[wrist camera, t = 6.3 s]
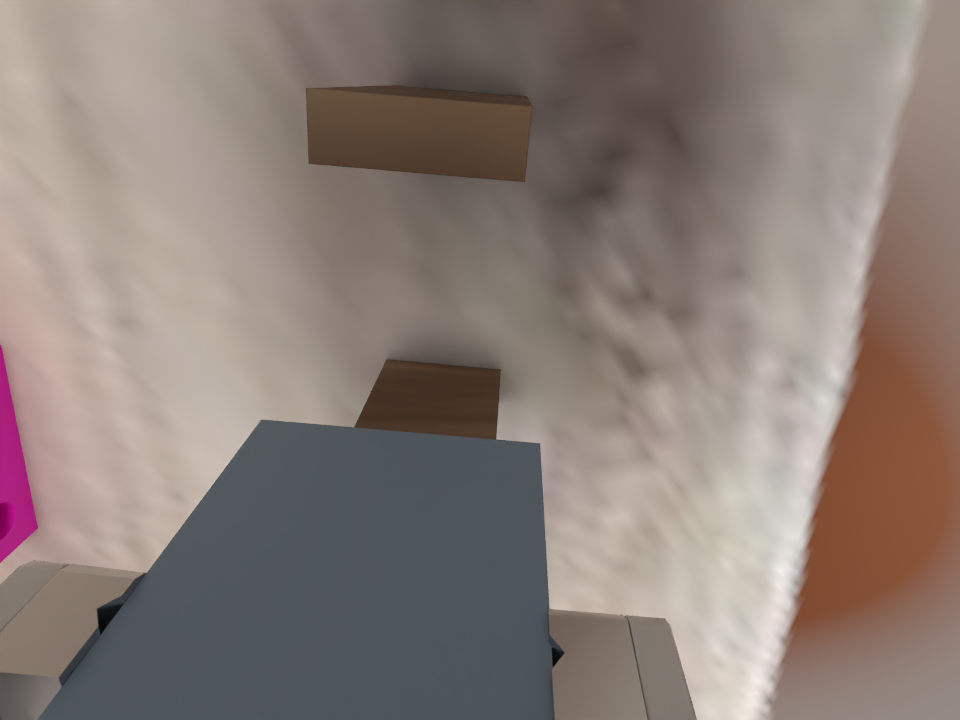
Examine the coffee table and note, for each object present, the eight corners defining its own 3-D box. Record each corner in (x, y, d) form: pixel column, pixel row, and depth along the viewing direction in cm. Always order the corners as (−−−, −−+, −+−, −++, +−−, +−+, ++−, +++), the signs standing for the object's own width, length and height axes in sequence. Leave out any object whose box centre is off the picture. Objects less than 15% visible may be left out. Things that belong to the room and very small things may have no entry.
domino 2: (386, 359, 28) (320, 497, 18) (500, 370, 27) (491, 514, 18) (386, 391, 28) (322, 541, 19) (497, 402, 28) (486, 557, 19)
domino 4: (390, 85, 23) (306, 88, 14) (527, 96, 23) (532, 106, 14) (389, 132, 24) (309, 163, 15) (522, 142, 24) (524, 182, 14)
